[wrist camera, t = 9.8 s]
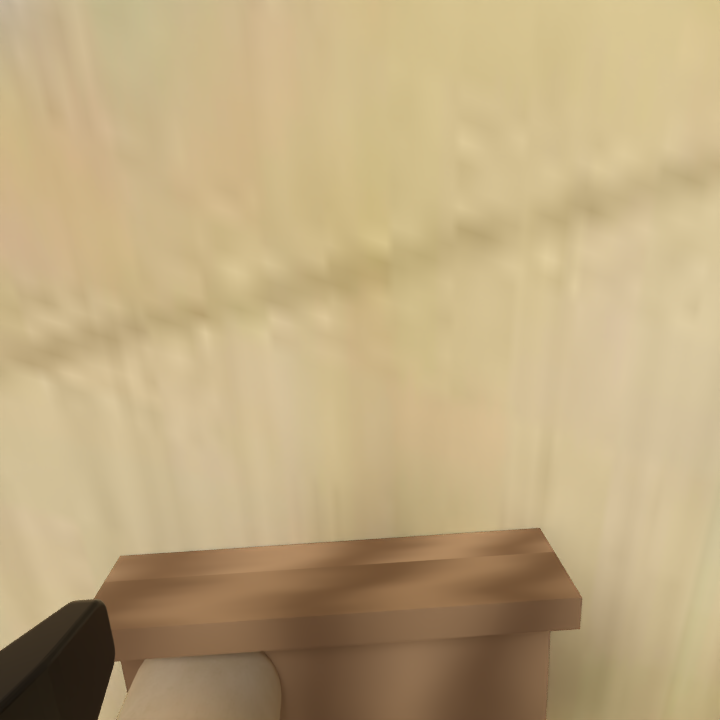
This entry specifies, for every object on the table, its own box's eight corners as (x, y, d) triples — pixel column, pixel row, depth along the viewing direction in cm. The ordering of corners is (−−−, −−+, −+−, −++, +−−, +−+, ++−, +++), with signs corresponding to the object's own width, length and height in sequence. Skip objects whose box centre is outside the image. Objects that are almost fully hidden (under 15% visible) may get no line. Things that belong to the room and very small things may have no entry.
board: (539, 528, 22) (581, 597, 18) (532, 712, 24) (567, 807, 20) (120, 555, 21) (73, 632, 17) (156, 739, 24) (122, 841, 20)
